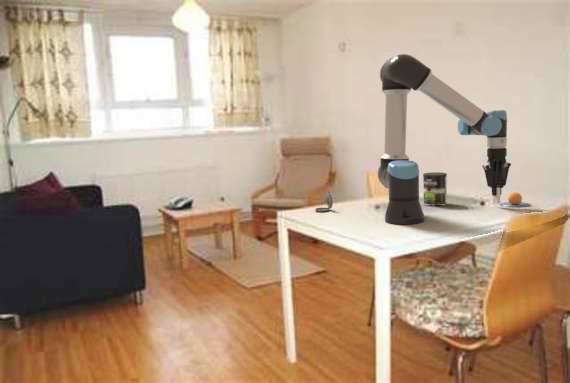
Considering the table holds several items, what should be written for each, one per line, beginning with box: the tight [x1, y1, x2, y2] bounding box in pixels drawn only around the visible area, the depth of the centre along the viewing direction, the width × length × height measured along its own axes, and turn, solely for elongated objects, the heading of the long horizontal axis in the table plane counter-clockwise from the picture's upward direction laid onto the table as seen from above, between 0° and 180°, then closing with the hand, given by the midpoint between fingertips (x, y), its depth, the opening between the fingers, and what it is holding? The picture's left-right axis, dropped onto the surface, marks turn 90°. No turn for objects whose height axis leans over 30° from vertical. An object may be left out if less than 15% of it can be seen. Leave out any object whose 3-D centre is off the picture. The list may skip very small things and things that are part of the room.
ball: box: [507, 191, 523, 205], centre depth 211 cm, size 6×6×6 cm
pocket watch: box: [314, 188, 334, 213], centre depth 224 cm, size 8×8×10 cm
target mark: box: [499, 201, 532, 208], centre depth 211 cm, size 12×12×1 cm
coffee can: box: [422, 171, 448, 206], centre depth 223 cm, size 10×10×14 cm
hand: (496, 202), depth 208 cm, fingers closed
